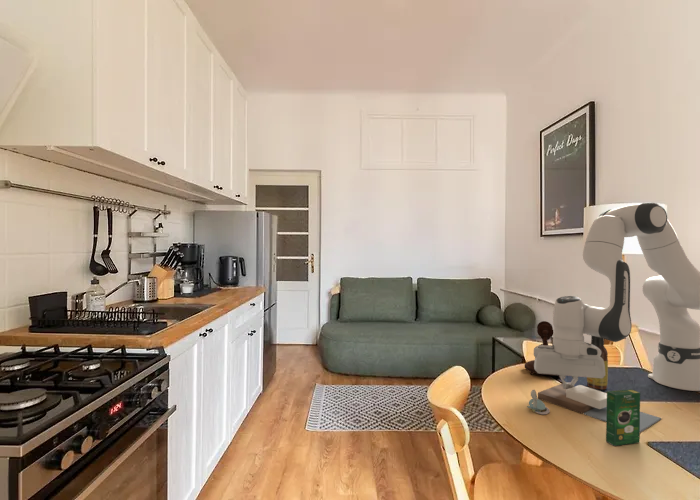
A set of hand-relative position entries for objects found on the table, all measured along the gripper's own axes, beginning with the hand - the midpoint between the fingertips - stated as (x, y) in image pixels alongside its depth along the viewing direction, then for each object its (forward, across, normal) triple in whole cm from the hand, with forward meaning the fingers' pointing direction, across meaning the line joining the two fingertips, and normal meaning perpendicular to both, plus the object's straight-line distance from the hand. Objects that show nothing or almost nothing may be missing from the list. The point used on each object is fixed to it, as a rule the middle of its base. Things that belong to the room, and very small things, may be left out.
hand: (568, 388), depth 125 cm
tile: (+2, +5, -5) cm, 7 cm away
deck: (+4, +1, -1) cm, 4 cm away
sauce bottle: (+4, +13, +15) cm, 20 cm away
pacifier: (+4, -11, -12) cm, 17 cm away
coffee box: (+4, +6, -27) cm, 28 cm away
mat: (+4, +12, -10) cm, 16 cm away
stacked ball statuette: (+4, -2, +27) cm, 27 cm away
